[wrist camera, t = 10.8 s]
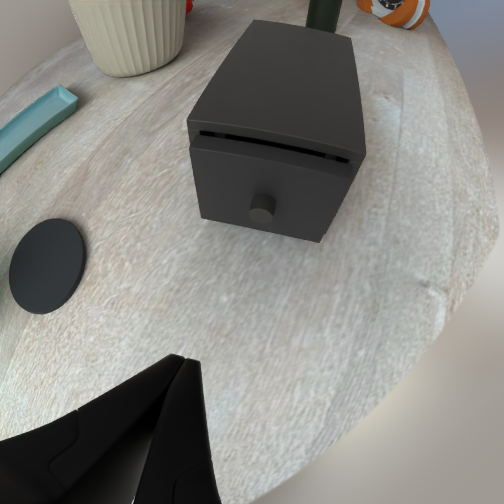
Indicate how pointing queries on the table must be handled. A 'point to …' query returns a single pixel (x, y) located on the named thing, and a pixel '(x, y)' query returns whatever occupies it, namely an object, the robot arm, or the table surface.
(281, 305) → the table surface
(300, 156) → the drawer
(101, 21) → the canister
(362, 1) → the alarm clock
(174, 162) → the table surface
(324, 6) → the wine bottle
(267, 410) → the table surface
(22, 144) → the rectangular tray
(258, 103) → the cabinet
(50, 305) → the coaster
